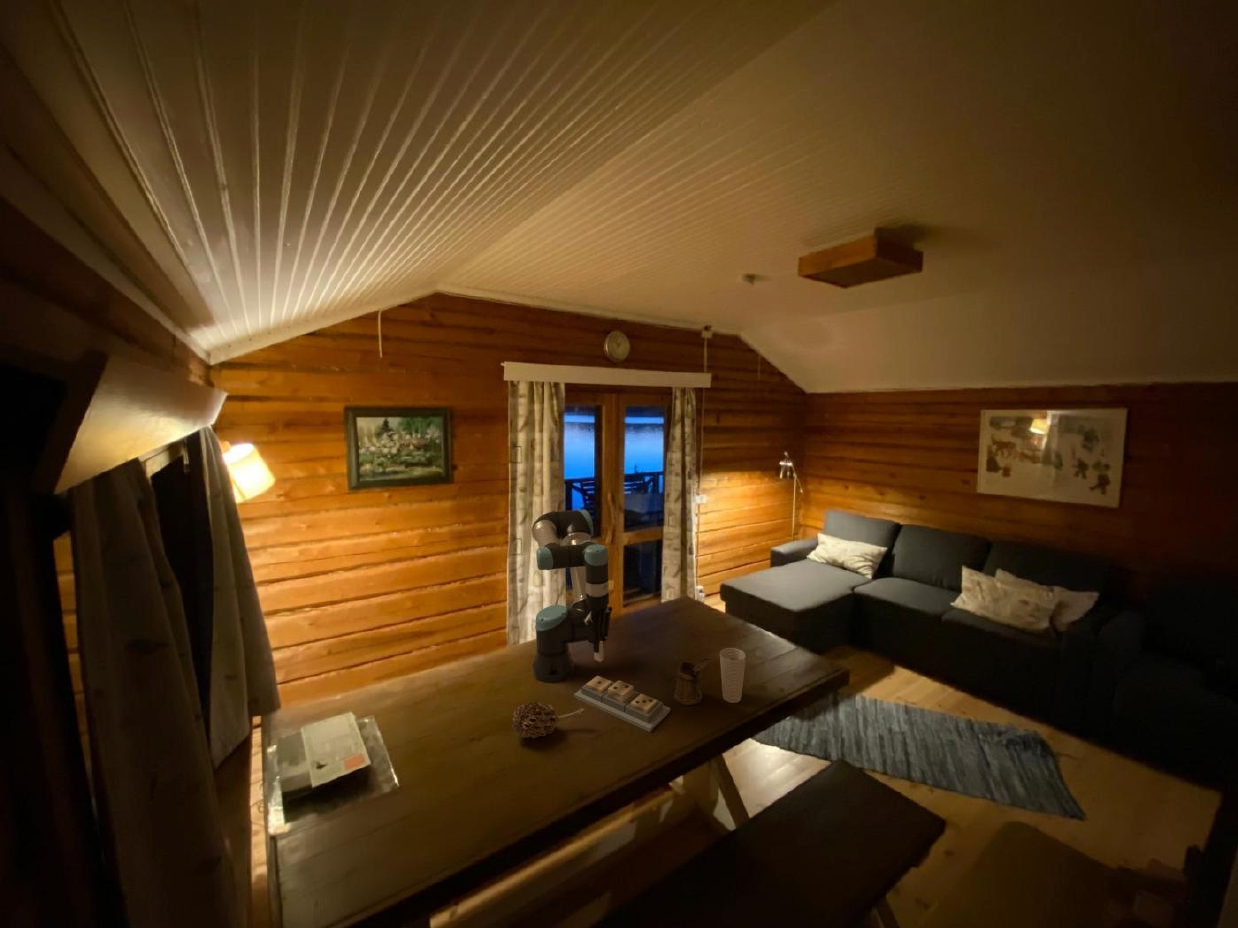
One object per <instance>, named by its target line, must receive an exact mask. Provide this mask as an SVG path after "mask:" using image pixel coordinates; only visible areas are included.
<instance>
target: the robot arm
mask: <svg viewBox="0 0 1238 928" xmlns="http://www.w3.org/2000/svg"><path fill="white" fill-rule="evenodd" d="M593 523H594V522H593V520H592V517H591V514H590V512H589V510H586V509H577V508H576V509H573V510H559V511H550V512H546V513H544V514H542V515H540V516H539V517H538V518H537V519H536V520H535V521H534V523H533V524H532V526H531V534H532V537H533V539H534V540H535V541H536V542H537V546H538V548H537V549H536V553H535V554H536V555H535V556H536V568H537V569H538V570H540V571H551V570H552V571H553V570H561V569H569V570H570V576H571V577H570V578H571V585H572V592H573V598H574V599H573V600H574V601H573V602H572V604H570V605H571V609H568V607H567V606H565V605H560V604H554V605H549V606H547V607H544V608H542V609H541V610H540V611H538V613H537V614H536V616H535V624H534V629H535V640H536V641H535V642H536V653H535V657H534V660H533V664H532V676H533V677H534V676H535V677H536V678H537V679H536V678H535V677H534V678H535V679H536V680H538V679H539V680H538V681H540V680H541V682H544V681H547V682H546V683H555V682H561V681H563V680H566V679H568V678H570V676H572V675H573V674H574V671H575V661H574V659H573V657H572V654H571V652H570V647H569V646H570V645H569V644H574V643H583V642H588V643H589V644H592V648H593V649H592V651H593V653H594V654H593V658H594V661H597V662H600V663H601V662H603V661H604V648H605V645H604V644H605V642H607V637H608V636H609V631H610V621H611V614H612V611H613V607H612V606H609V604H610V593H609V591H610V588H609V578H610V577H609V575H610V573H609V559H610V557H609V549H608V547H607V546H606V545H603V544H597V543H596V542H595V541H593V540H591V539H592V537H593V536H594V529H595V528H594V524H593ZM559 540H561V541H562V544H563V545H561V542H560V541H559Z"/></svg>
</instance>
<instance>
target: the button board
mask: <svg viewBox="0 0 1238 928" xmlns="http://www.w3.org/2000/svg"><path fill="white" fill-rule="evenodd" d="M597 676H598V675H596V676H595V677H597ZM595 677H593V678H591V680H593V679H594V678H595ZM591 680H590V681H591ZM590 681H588V682H587V683H589V682H590ZM587 683H585V684H584V685H583V686H581V687H580V689H579V690H578V691H576V692H575V693H573V698H575V699H576V700H579V701H580V702H583V703H585V704H587V705H589V706H592V707H594V708H596V709H598V710H600V711H602V712H605V713H606V714H608V715H611V716H613V717H616V718H618V719H620V720H622V721H624V722H626V723H629V724H631V725H633V726H634V727H637V728H640V729H642V730H643V731H646V732H649V733H651V732H652V731H653V730H654V729H655V728H656V727H657V726H658V725H659V723H661V721H663V720H664V719H665V717H667V716H668V714H669V713H671V707H668V706H666V705H664V703H663V702H662V701H660V700H658V699H656V700H657V705H656V706H655V707H654V708H653V709H652V710H651V711H650V712H649V713H648V714H646V713H644V712H642V711H639V710H637V709H635V708H632V707H631V702H632V701H634V700H635V699H636V698H637V697H638V696H639V695H640V694H642V693H640V692H638V691H636V690H634V695H633V696H631V697H630V698H629V699H628V700H627V701H626V702H624V703H621V702H619V701H616V700H614V699H612V698H609V697H608V689H606V690H605V691H604V692H603V693H601V694H600V693H598V692H596V691H593V690H591V689H589V688H587ZM615 683H616V682H615V681H612V685H613V684H615ZM612 685H611V686H612ZM611 686H610V687H611ZM610 687H609V688H610Z"/></svg>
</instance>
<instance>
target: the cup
mask: <svg viewBox="0 0 1238 928" xmlns="http://www.w3.org/2000/svg"><path fill="white" fill-rule="evenodd" d="M719 662H720V675H721V690H722V692H721V693H722V698H723V700H724V701H726V702H728V703H732V704H735V703H739V702H740V701H741V700H742V695H743V686H744V679H745V678H744V677H745V669H746V662H747V654H746V652H745V651H743V650H742V649H740V648H736V647H725V648H722V649H721V650H720V651H719Z"/></svg>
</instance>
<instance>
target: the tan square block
mask: <svg viewBox="0 0 1238 928" xmlns="http://www.w3.org/2000/svg"><path fill="white" fill-rule="evenodd" d="M596 676H597V677H596ZM596 676H594V677H593V678H594V679H593V678H592V679H593V680H592V679H591V680H590V682H589V681H588V682H589V683H588V682H586V684H587V688H589V689H591V690H593V691H596V692H598V693H600V694H601V693H603V692H604V691H605V690H606V689H608V688H609V687H610V686H611V685H612V682H613V681H612V680H610V679H607V678H604V677H602V676H599V675H596Z"/></svg>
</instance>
